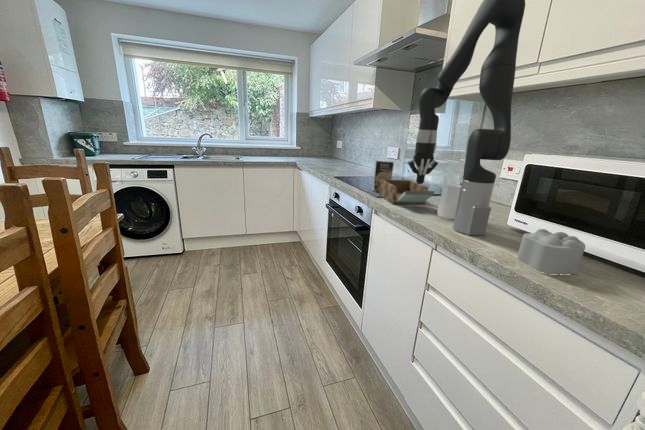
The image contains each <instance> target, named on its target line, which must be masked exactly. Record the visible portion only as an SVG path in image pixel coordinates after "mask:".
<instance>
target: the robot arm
mask: <svg viewBox="0 0 645 430" xmlns="http://www.w3.org/2000/svg"><path fill="white" fill-rule="evenodd" d="M525 9H526V0H482V2H481V3H480V5H479V7H478V9H477V10H476V13H475V14H474V16H473V18H472V20H471V21H470V23H469V25H468V27H467V28H466V30H465V32H464V34H463V36H462V38H461V40H460V42H459V44H458V45H457V47H456V49H455V50H454V52H453V54H452V55H451V56H450V58H449V59H448V60H447V62H446V63H445V65H444V66H443V67H442V69H441V70H440V72H439V73H438V75H437V80H438V85H437V86H436V87H432V86H427V87H425V88H423V90H422V91H421V93H420V95H419V98H418V111H419V117H420V119H419V124H418V131H417V135H416V140H415V141H416V142H415V148H414V155H413V156H412V157H413V158H412V159H411V160H408V161H407V164H408V166H409V168H410V169H411V171H412V173H413V174H416V180H415V181H416V183H418V184H421V185H424V184H423V183H424V182H425V178H426V175H429V174H430V173H431V172H433V170H434V169H436V167H437V166H438V165H439V162H437V161H436V160H435V157H434V155H435V150H436V144H437V138H438V127H439V121H440V118H439V115H437V114H436V109H438V108H441V107H442V106H443V105H444V104H445V103H446V102H447V100H448V99H449V98H450V95H451V93H452V91H453V89H454V87H455V85H456V83H458V81H459V80H460V79H461V77H462V76H463V75H464V73H465V72H466V71H467V69H468V68H469V66H470V65H471V62H472V59H473V56H474V54H475V50H476V46H477V44H478V42H479V39H480V37H481V35H482V33H483V32H484V31H485V29H486V28H487V27H488V25H490V24H491V25H493V26H494V30H495V36H494V44H493V47H492V49H491V51H490V52H489V53H488V55H487V57H486V58H485V60H484V61H483V63H482V65H481V69H480V75H479V85H478V86H479V87H478V90H479V94H480V96H481V98H482V100H483V101H484V103H485V105H486V106H487V108H488V109H489V111H490V114H491V116H492V121H493V128H476V129H474V130H472V132H471V133H470V135H469V137H468V141H467V146H466V152H465V153H466V154H465V161H464V167H463V175H462V179H461V185H460V186H461V189H460V194H459V199H458V204H457V209H456V215H455V219H453V220H454V221H453V226H452V228H453V230H454V231H456V232H459V233H462V234H464V235H465V234H466V235H468V236H485V235H486V231H487V226H488V223H489V218H490V214H491V210H492V207H491V206H490V205H491V199H492V195H493V191H494V186H495V182H496V178H497V175H496V173H495V172H493V171H491V170H488V169H486V168H485V167H483V166H482V165H481V160H485V161H486V160H487V161H501V160H503V159H505V158H506V157H507V155H508V153H509V151H510V147H511V137H512V101H513V91H514V85H515V78H516V77H515V76H516V67H517V54H518V46H519V37H520V34H521V33H520V32H521V28H522V22H523V18H524V15H525Z"/></svg>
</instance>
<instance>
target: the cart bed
mask: <svg viewBox="0 0 645 430" xmlns="http://www.w3.org/2000/svg"><path fill="white" fill-rule="evenodd" d="M405 191H429V187H428V186H426V185H424V184H418V183H417V182H415V181H412V179H411V180H410V179H391V180H380V187H379V192H378V196H379V195H380V196H379V197H381V196H382V197H383V198H382V197H381V198H382V199H384V200H385V201H387V202H388V203H390V204H391V205H426V203H427V202H426V201H427V200H426V201H425V202H397V199H398V198H399V197H400V196H401V195H402V194H403V193H404V192H405Z"/></svg>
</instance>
